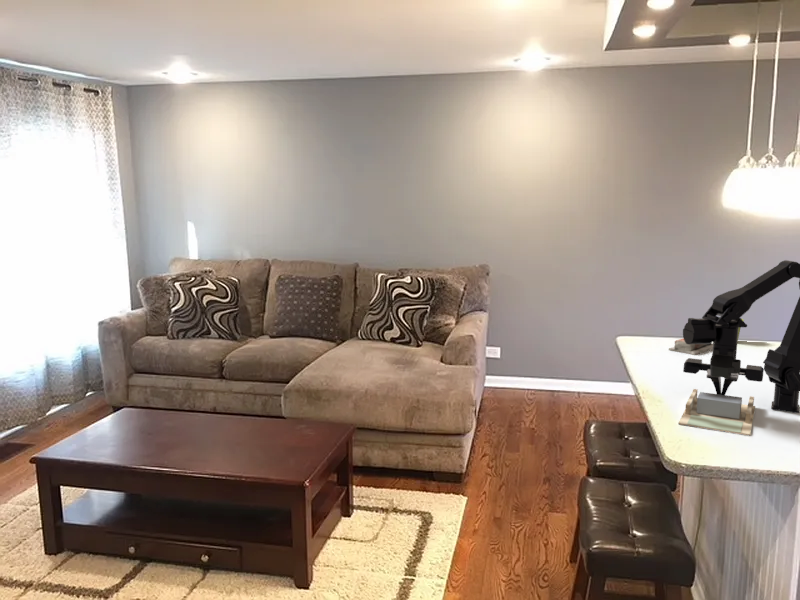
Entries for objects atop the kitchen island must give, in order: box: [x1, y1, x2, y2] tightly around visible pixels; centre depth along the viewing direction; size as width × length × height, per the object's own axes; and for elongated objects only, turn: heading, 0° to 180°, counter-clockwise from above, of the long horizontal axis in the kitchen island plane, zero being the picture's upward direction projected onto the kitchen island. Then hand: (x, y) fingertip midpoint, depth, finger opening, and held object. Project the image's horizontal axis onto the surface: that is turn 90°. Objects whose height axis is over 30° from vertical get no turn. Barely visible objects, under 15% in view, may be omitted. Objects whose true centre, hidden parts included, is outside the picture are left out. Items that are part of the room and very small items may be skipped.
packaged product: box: [668, 338, 713, 356], centre depth 249 cm, size 18×5×10 cm
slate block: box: [697, 391, 743, 419], centre depth 178 cm, size 6×10×4 cm, turn 60°
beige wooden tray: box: [678, 388, 756, 437], centre depth 177 cm, size 24×16×3 cm, turn 150°
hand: (720, 400), depth 181 cm, fingers closed, pressing on slate block
